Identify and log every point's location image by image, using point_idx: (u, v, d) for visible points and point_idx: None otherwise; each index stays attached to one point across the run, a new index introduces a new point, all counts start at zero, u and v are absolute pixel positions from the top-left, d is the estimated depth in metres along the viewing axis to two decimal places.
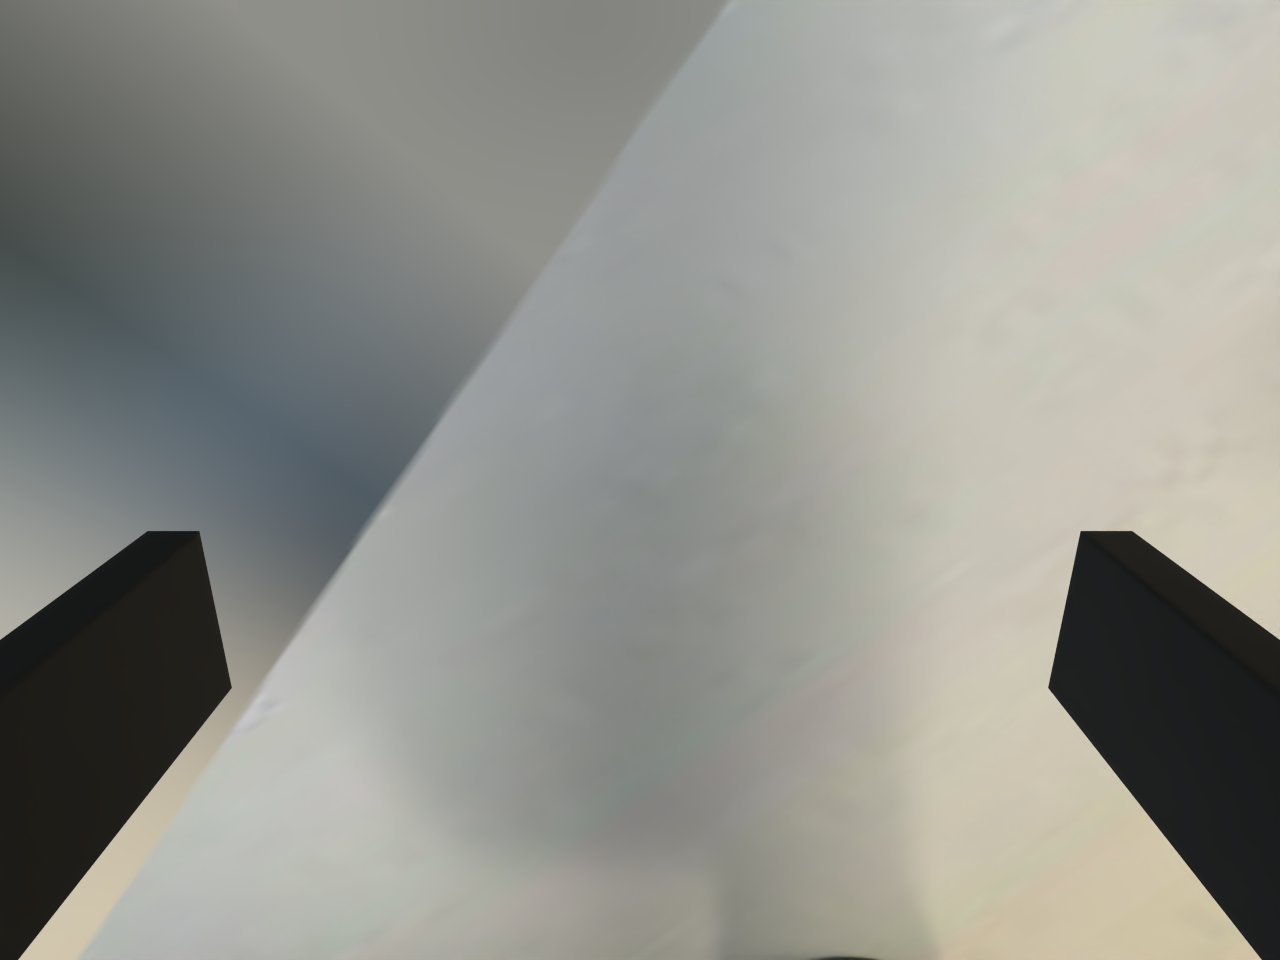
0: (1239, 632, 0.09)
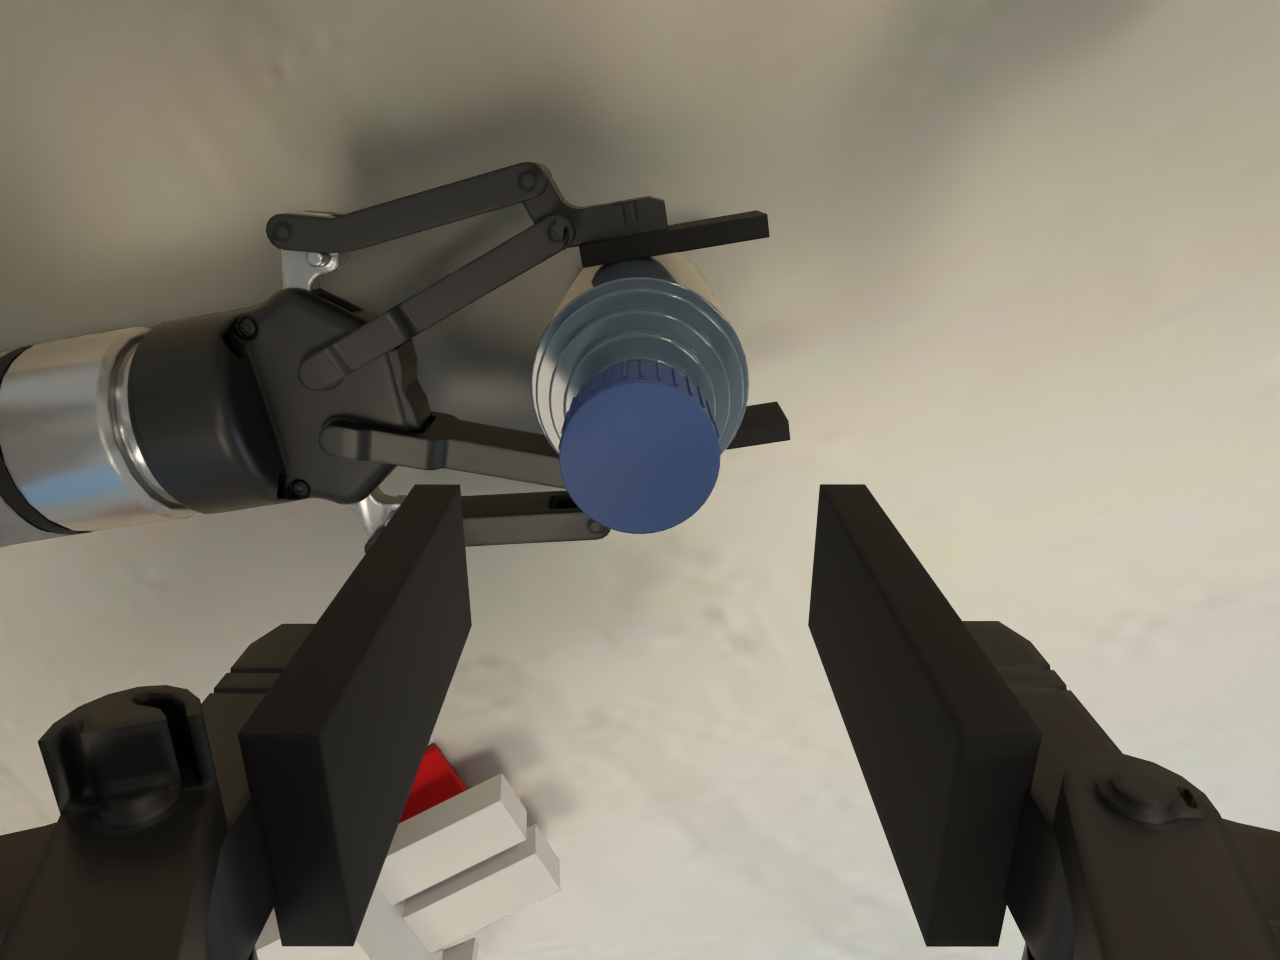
0: (892, 558, 0.11)
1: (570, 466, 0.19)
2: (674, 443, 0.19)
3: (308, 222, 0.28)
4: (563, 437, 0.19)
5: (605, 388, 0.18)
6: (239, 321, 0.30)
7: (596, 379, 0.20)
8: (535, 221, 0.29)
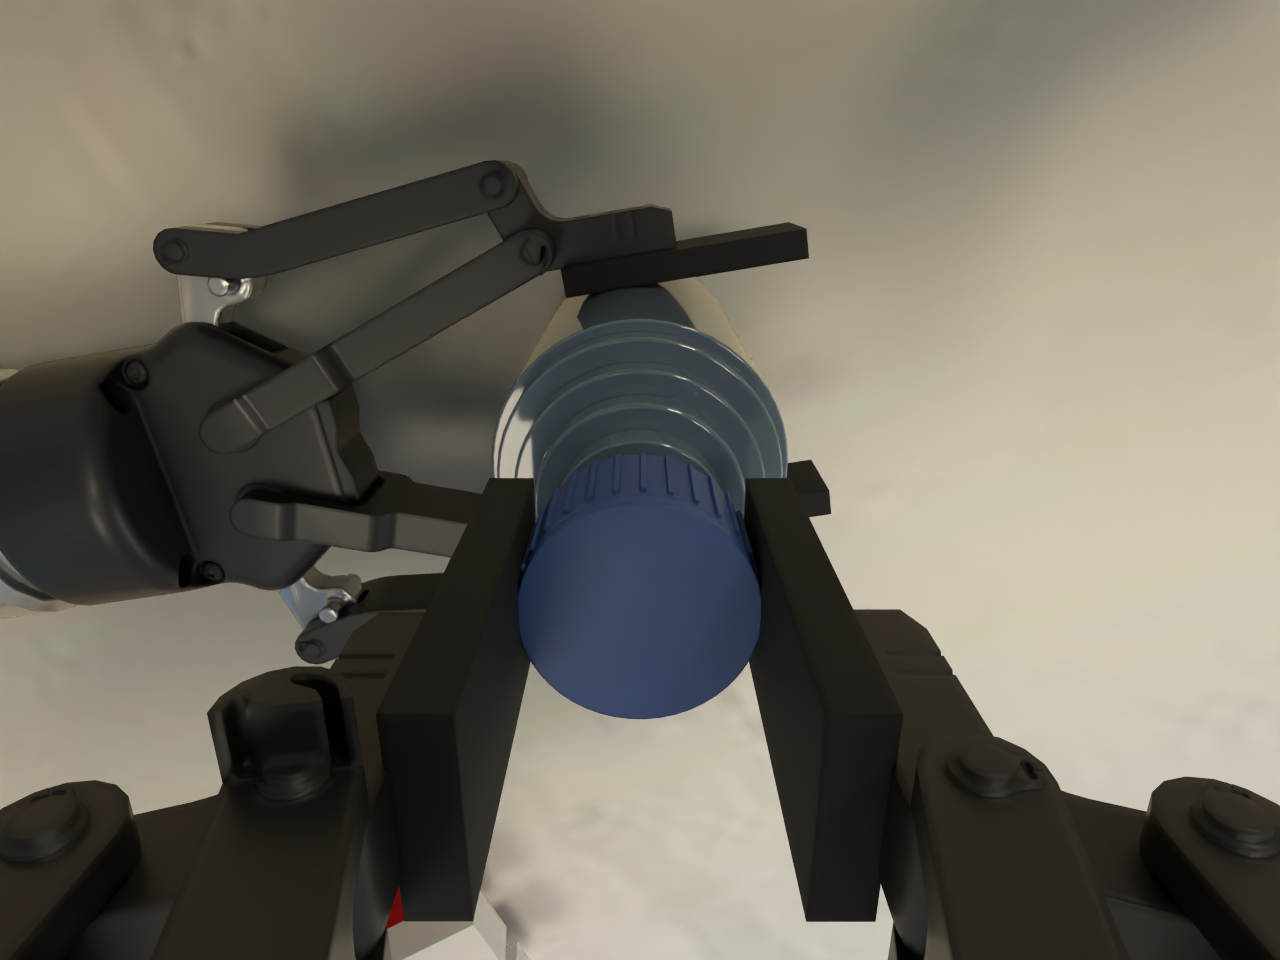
0: (799, 549, 0.11)
1: (533, 625, 0.12)
2: (693, 592, 0.12)
3: (207, 239, 0.22)
4: (522, 583, 0.12)
5: (586, 511, 0.12)
6: (126, 365, 0.23)
7: (575, 485, 0.13)
8: (504, 237, 0.22)
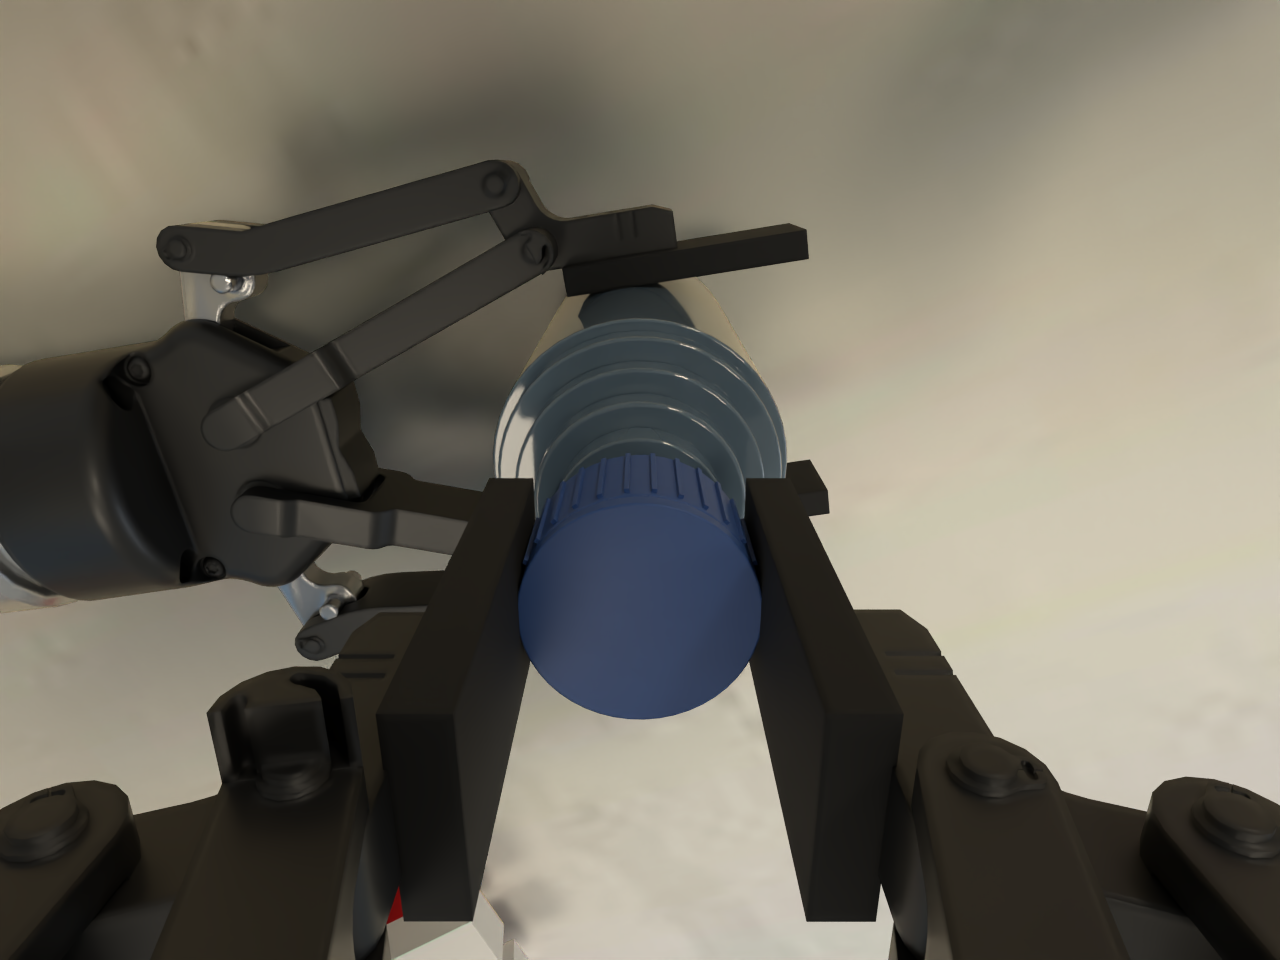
0: (799, 549, 0.11)
1: (697, 692, 0.13)
2: (588, 589, 0.12)
3: (210, 236, 0.22)
4: (662, 716, 0.13)
5: (570, 696, 0.13)
6: (128, 361, 0.23)
7: None
8: (506, 236, 0.22)
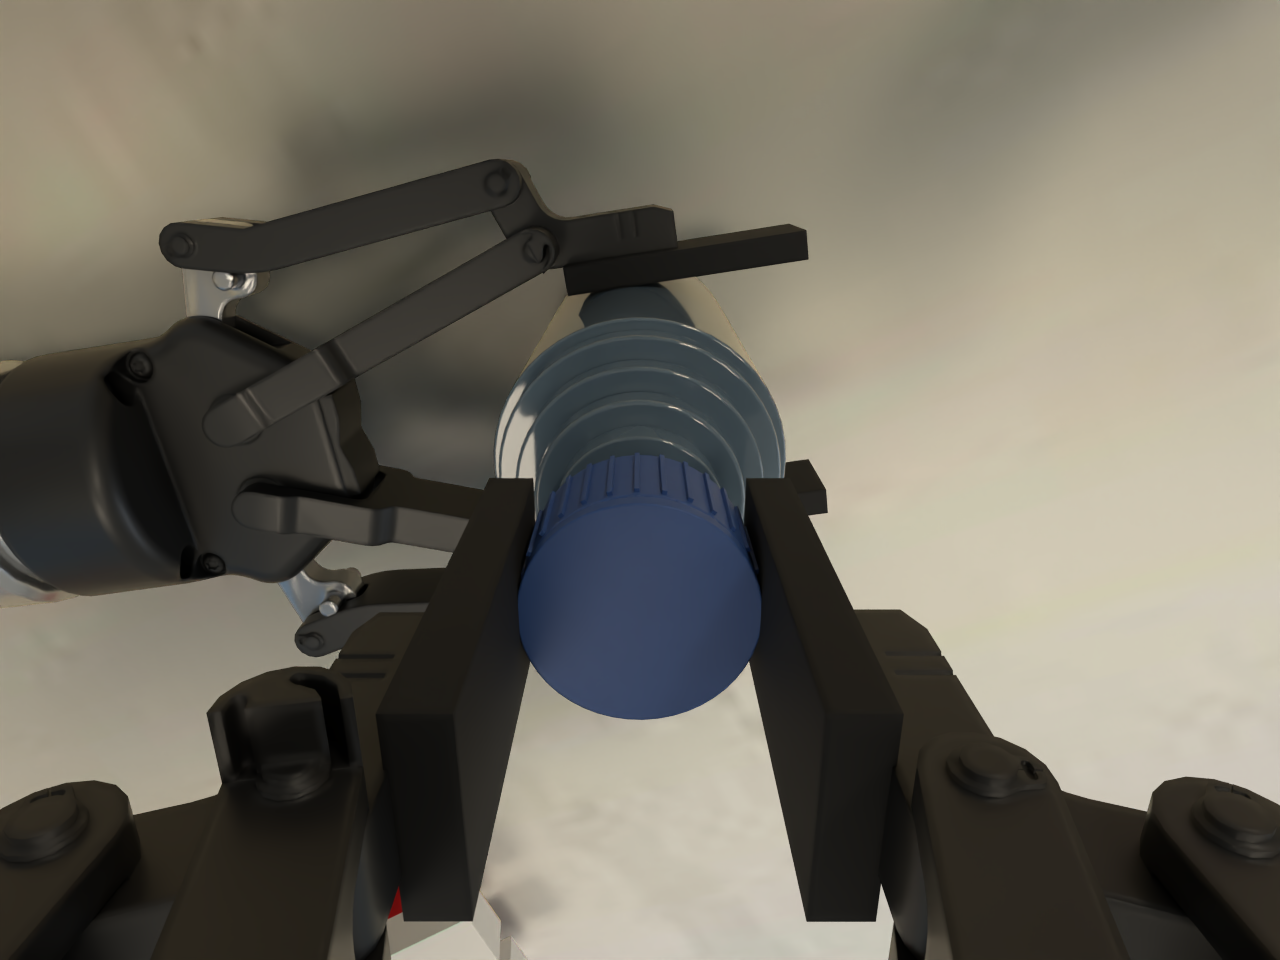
0: (799, 549, 0.11)
1: (689, 531, 0.12)
2: (636, 669, 0.13)
3: (213, 233, 0.22)
4: (734, 546, 0.12)
5: None
6: (130, 357, 0.23)
7: None
8: (507, 235, 0.22)
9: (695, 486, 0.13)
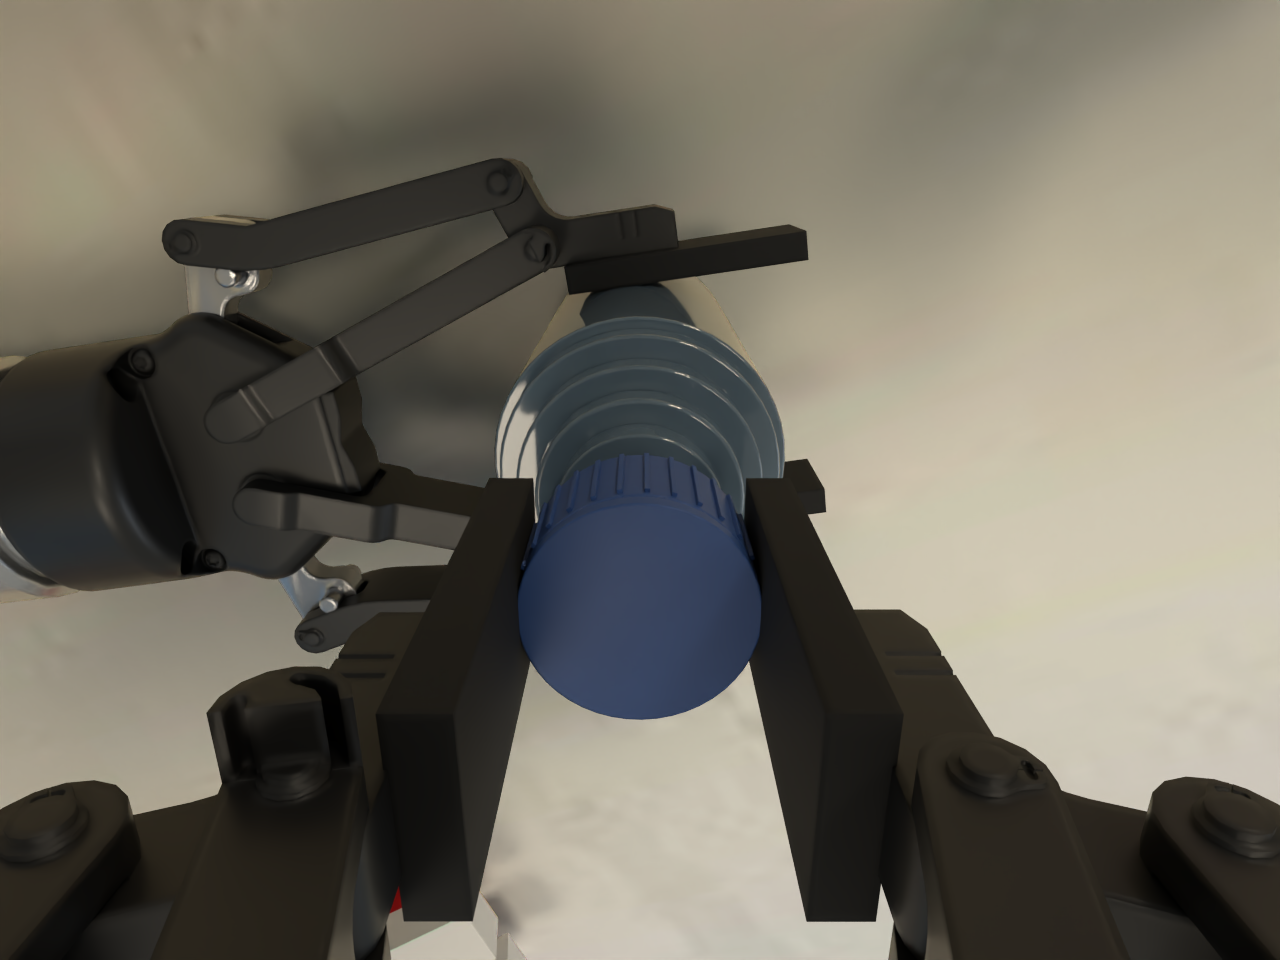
0: (799, 549, 0.11)
1: (533, 623, 0.12)
2: (694, 594, 0.12)
3: (216, 230, 0.22)
4: (523, 581, 0.12)
5: (590, 510, 0.12)
6: (132, 353, 0.23)
7: (578, 483, 0.13)
8: (509, 234, 0.22)
9: None
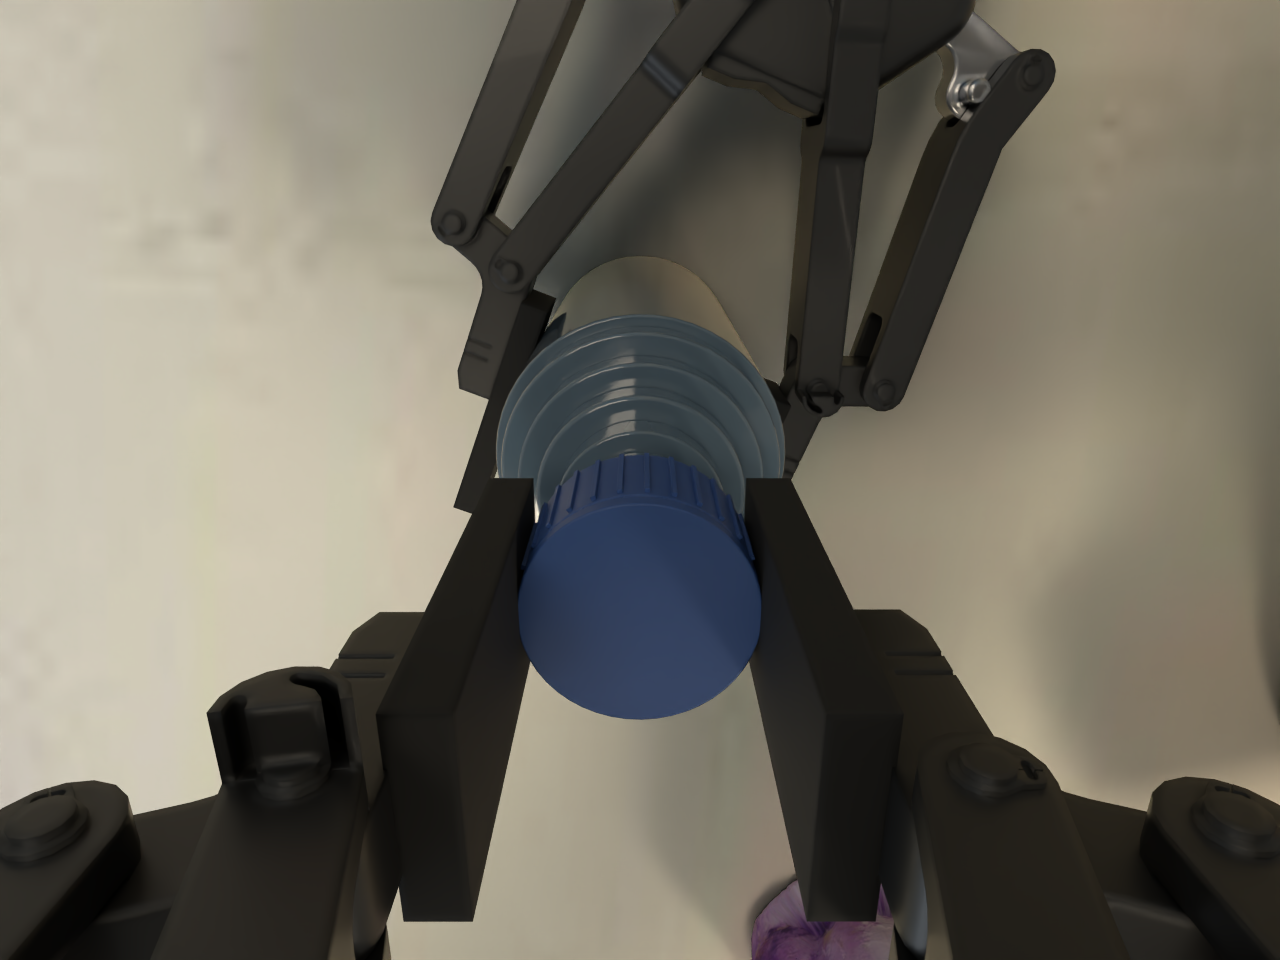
0: (799, 549, 0.11)
1: (533, 622, 0.12)
2: (694, 594, 0.12)
3: (1018, 116, 0.21)
4: (523, 580, 0.12)
5: (590, 510, 0.12)
6: None
7: (578, 483, 0.13)
8: None
9: None
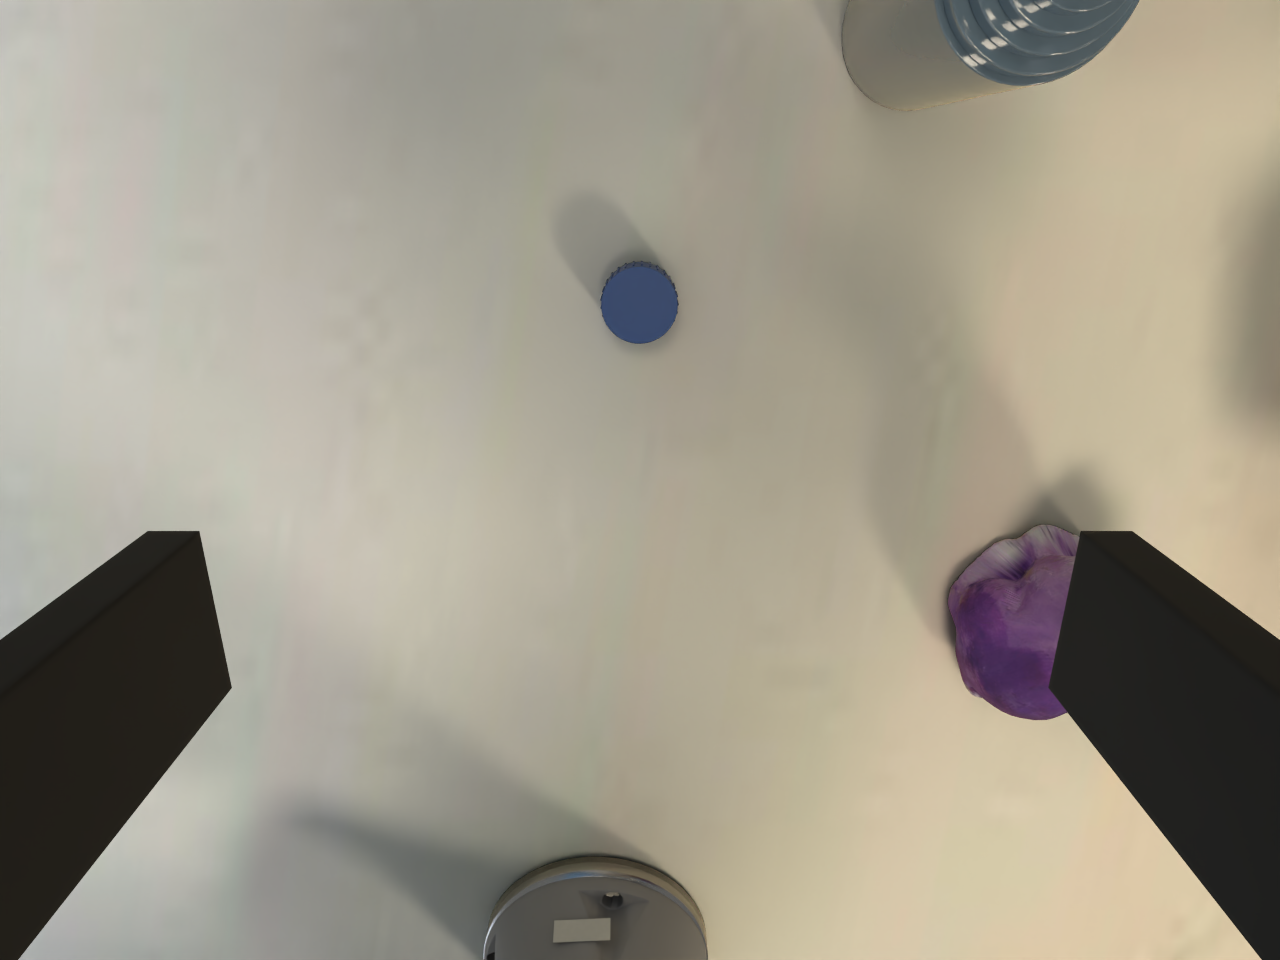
0: (1239, 632, 0.09)
1: (606, 307, 0.40)
2: (656, 297, 0.40)
3: None
4: (604, 292, 0.40)
5: (624, 269, 0.40)
6: None
7: (619, 268, 0.41)
8: None
9: None
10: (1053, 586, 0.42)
